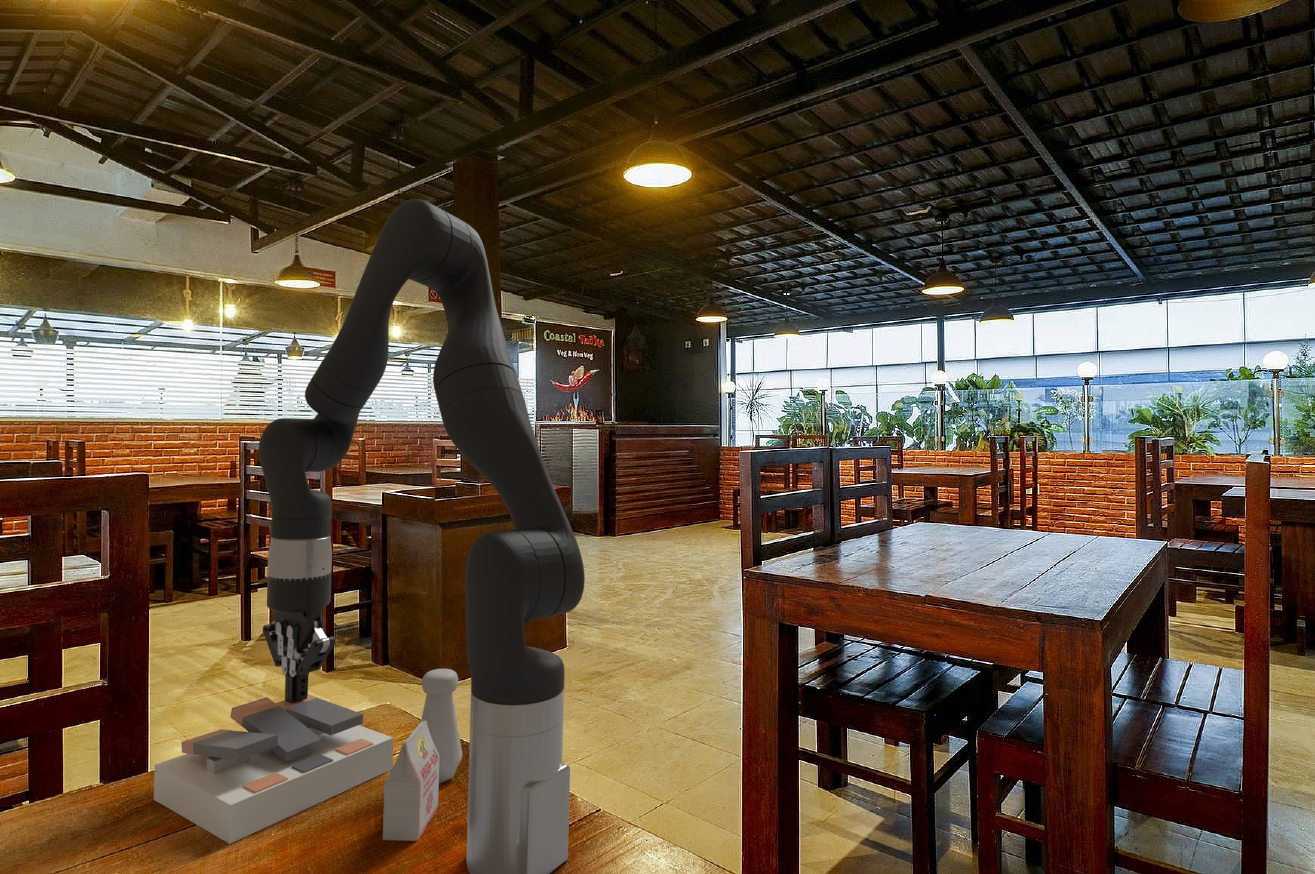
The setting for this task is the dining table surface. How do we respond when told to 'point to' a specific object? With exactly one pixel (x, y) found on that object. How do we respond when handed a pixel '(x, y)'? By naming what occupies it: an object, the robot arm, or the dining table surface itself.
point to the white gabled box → (412, 788)
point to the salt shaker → (442, 719)
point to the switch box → (268, 782)
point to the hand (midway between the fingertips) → (295, 701)
